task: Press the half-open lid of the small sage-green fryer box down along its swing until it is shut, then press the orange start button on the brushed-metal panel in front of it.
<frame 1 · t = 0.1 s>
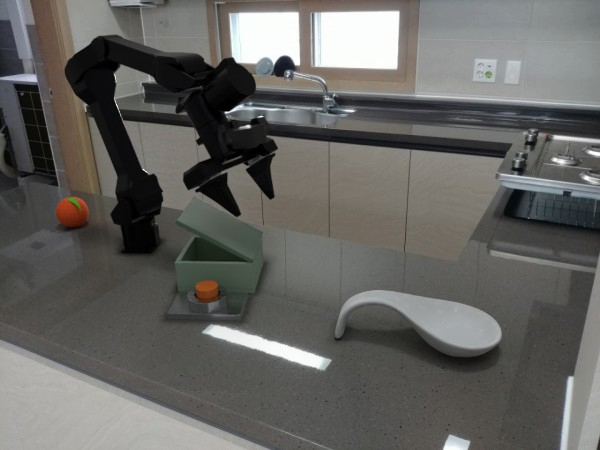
hand: (256, 207, 91), 15 cm above the worktop, tool tilted 30°, fingers open, 9 cm apart
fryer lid: (221, 228, 95), point 10 cm above the worktop, hinge at 30.0°
fryer: (222, 276, 99), on the worktop
control panel: (209, 308, 89), on the worktop
spoon rest: (415, 342, 80), on the worktop
start button: (207, 290, 88), point 4 cm above the worktop, slide at 0.2 cm
clementine: (76, 227, 123), on the worktop
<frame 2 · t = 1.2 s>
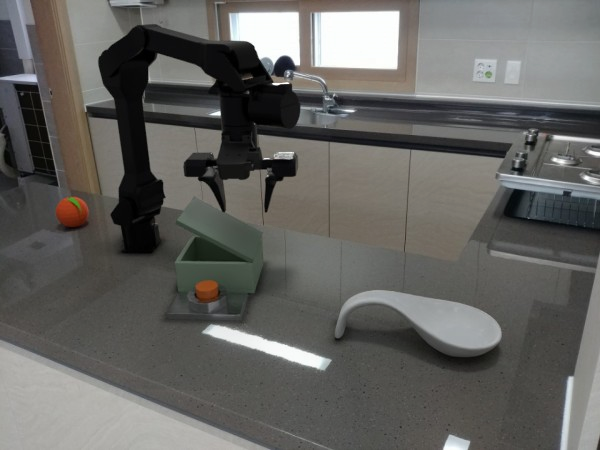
hand: (245, 211, 94), 13 cm above the worktop, tool pointing down, fingers open, 7 cm apart
nothing on the worktop moved.
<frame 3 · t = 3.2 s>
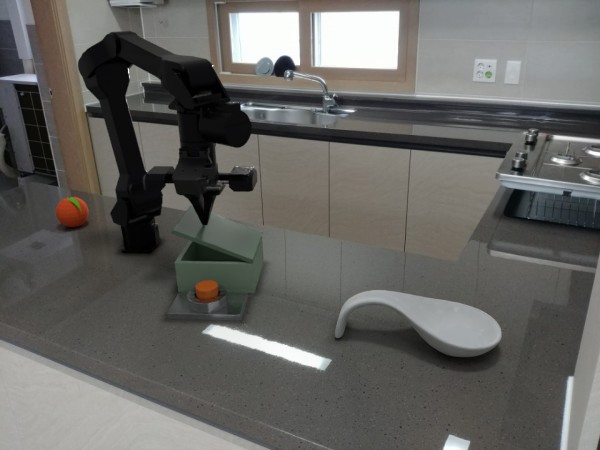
hand: (205, 224, 95), 11 cm above the worktop, tool pointing down, fingers closed
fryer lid: (219, 232, 96), point 9 cm above the worktop, hinge at 22.1°, touching gripper
everything else where it was.
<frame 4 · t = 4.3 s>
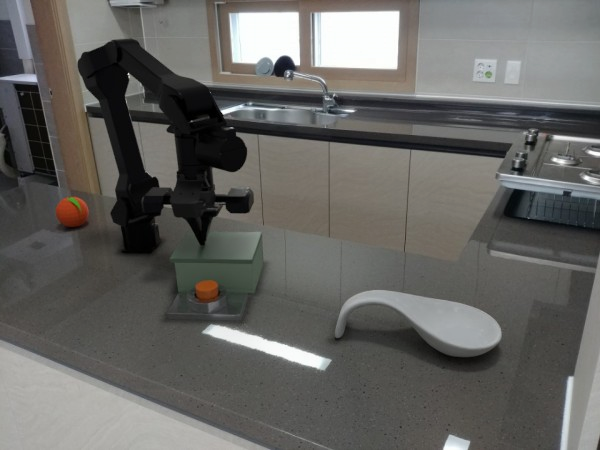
hand: (203, 244, 97), 7 cm above the worktop, tool pointing down, fingers closed, pressing on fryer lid
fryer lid: (218, 246, 97), point 6 cm above the worktop, hinge at -0.2°, touching fryer, gripper
everything else where it was.
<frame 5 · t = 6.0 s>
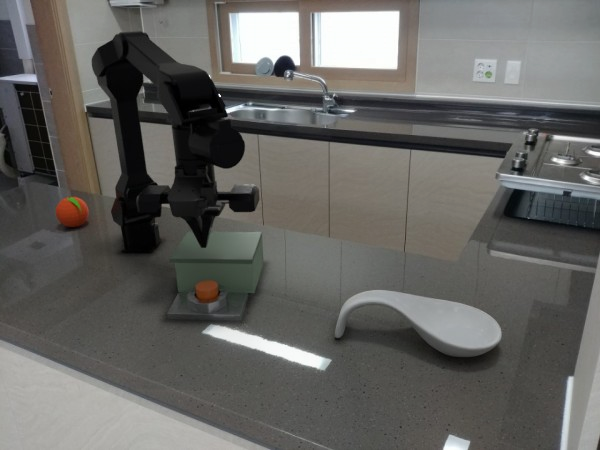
hand: (204, 247, 89), 10 cm above the worktop, tool pointing down, fingers closed
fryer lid: (218, 246, 97), point 6 cm above the worktop, hinge at -0.2°, touching fryer
everything else where it was.
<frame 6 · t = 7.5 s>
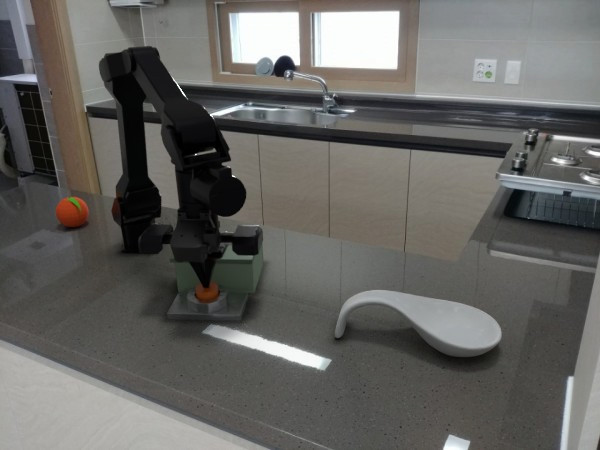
hand: (206, 286, 88), 4 cm above the worktop, tool pointing down, fingers closed, pressing on start button
start button: (207, 291, 88), point 3 cm above the worktop, slide at -0.1 cm, touching gripper
everything else where it was.
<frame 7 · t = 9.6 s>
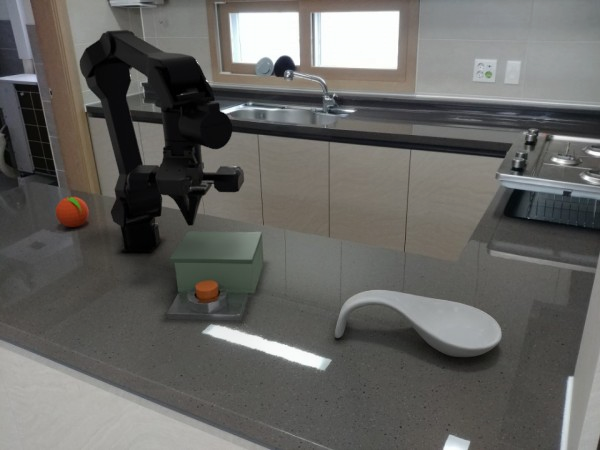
hand: (191, 224, 94), 11 cm above the worktop, tool pointing down, fingers closed
start button: (207, 290, 88), point 4 cm above the worktop, slide at 0.2 cm
everything else where it was.
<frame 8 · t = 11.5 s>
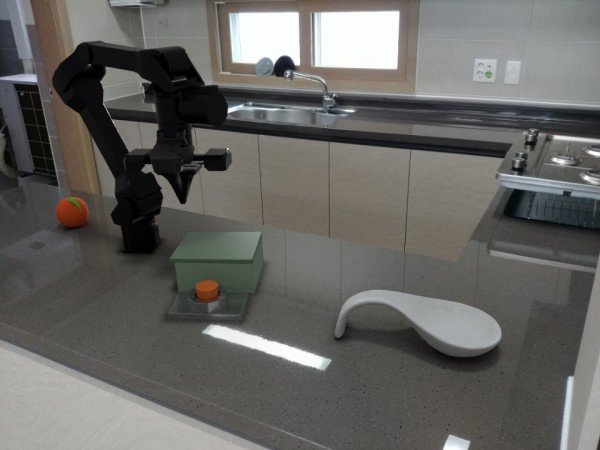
hand: (183, 203, 101), 12 cm above the worktop, tool pointing down, fingers closed
nothing on the worktop moved.
at the end: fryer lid at +0° (first picture: +30°); start button pushed in 1.1 cm at the most during the clip, back to 0.2 cm at the end; start button slide at 0.2 cm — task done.
